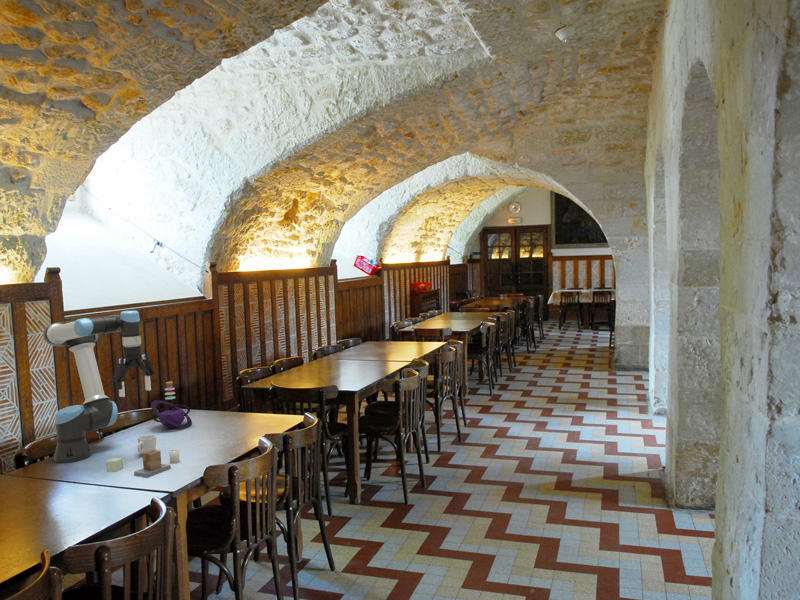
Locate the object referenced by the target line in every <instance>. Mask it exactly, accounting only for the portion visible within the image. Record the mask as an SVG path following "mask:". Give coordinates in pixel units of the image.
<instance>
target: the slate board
mask: <svg viewBox="0 0 800 600" xmlns="http://www.w3.org/2000/svg"><path fill="white" fill-rule="evenodd" d="M171 468H172V466H171V464H165V463H161V468H158V469H156V470H153V471H148V470H144V469H143V468H140V469H138V470H134V472H133V476H136V477H140V476H141V478H147V479H148V478H150V477H153V476H156V475H158V474H160V473H163V472H165V471H168V470H171Z"/></svg>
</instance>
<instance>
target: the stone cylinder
mask: <svg viewBox="0 0 800 600" xmlns="http://www.w3.org/2000/svg"><path fill="white" fill-rule="evenodd" d="M168 456H169V464H170V465H171V464H172V465H173V464H178V463H180V451H179V449H171V450H169V451H168Z"/></svg>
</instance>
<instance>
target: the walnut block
mask: <svg viewBox="0 0 800 600" xmlns="http://www.w3.org/2000/svg"><path fill="white" fill-rule="evenodd" d="M141 455H142V466H143V468H142V469H144V470H148V471H153V470H156V469H158V468H161V464H162V454H161V450H157V449H156V450H150V451H147V452H145V453H142V454H141Z"/></svg>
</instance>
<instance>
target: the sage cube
mask: <svg viewBox="0 0 800 600" xmlns="http://www.w3.org/2000/svg"><path fill="white" fill-rule="evenodd" d="M106 469H107V470H106V471H107V472H109V473H110V472H119V471H121V470H122V469H124V460H123V457H112V458H110V459H108V460H106Z"/></svg>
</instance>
